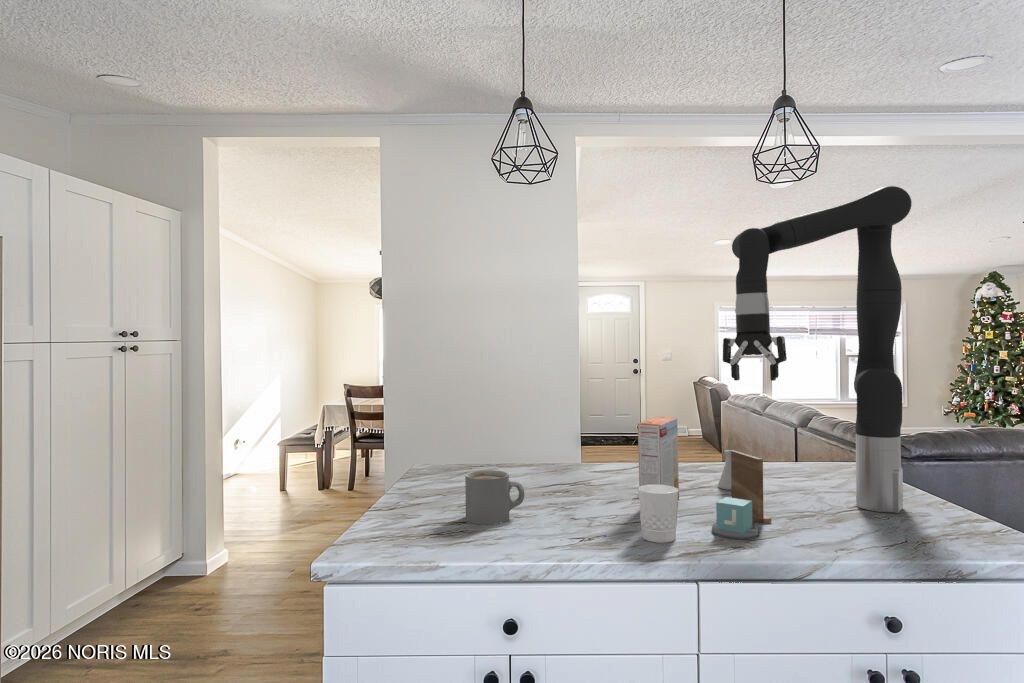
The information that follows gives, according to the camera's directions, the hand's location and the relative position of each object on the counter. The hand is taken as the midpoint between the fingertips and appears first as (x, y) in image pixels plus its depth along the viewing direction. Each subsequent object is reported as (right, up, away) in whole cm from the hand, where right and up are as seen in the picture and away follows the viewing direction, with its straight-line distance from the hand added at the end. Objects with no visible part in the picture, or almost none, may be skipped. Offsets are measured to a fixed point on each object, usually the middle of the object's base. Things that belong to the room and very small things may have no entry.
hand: (754, 380), depth 152 cm
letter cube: (-12, -29, -20) cm, 38 cm away
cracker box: (-22, -31, +2) cm, 38 cm away
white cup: (-28, -31, -23) cm, 48 cm away
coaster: (-12, -30, -20) cm, 39 cm away
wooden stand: (-5, -30, -9) cm, 32 cm away
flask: (+1, -31, +20) cm, 36 cm away
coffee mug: (-62, -31, -8) cm, 70 cm away
